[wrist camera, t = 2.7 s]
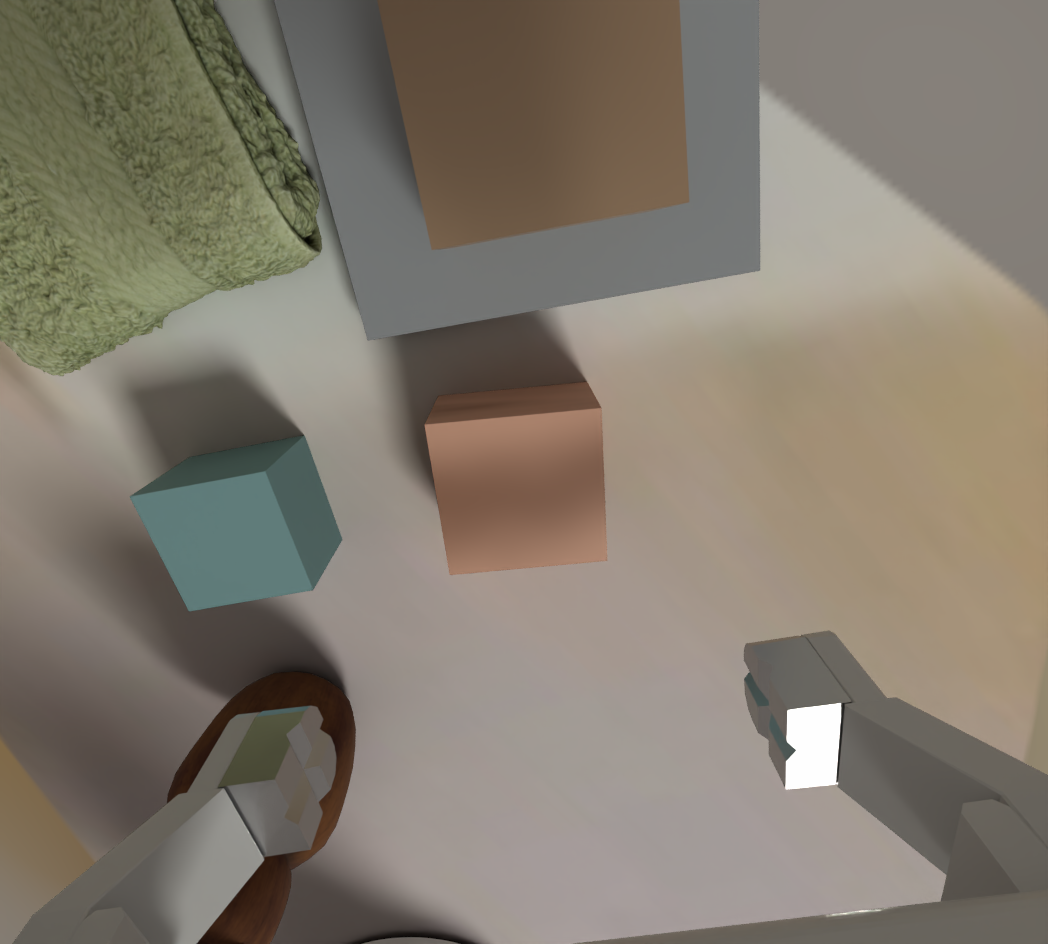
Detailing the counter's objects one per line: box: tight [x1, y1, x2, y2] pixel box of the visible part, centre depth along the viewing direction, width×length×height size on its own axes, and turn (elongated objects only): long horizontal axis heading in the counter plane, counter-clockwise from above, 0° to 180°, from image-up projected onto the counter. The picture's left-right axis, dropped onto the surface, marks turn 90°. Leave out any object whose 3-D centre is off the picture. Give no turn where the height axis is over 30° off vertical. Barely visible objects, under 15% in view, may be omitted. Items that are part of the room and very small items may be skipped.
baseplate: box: [274, 0, 760, 341], centre depth 16 cm, size 12×14×6 cm
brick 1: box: [130, 435, 342, 611], centre depth 22 cm, size 5×5×4 cm
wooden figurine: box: [167, 672, 356, 944], centre depth 21 cm, size 7×6×15 cm
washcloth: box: [0, 0, 322, 376], centre depth 17 cm, size 13×18×3 cm
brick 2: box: [425, 382, 607, 575], centre depth 22 cm, size 6×6×4 cm
